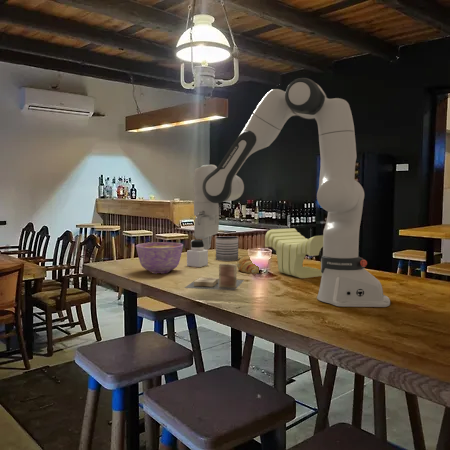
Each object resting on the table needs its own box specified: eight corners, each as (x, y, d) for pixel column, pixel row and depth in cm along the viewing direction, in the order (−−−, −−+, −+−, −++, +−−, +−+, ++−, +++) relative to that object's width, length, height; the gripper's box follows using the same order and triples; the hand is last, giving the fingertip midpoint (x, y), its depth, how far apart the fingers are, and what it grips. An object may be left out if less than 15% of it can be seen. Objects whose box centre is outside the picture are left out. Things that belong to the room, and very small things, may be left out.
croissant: (262, 283, 192) (271, 266, 192) (242, 273, 189) (251, 255, 189) (247, 273, 212) (255, 257, 212) (228, 263, 210) (237, 248, 210)
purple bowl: (129, 270, 202) (129, 243, 201) (172, 266, 212) (172, 241, 211) (145, 278, 185) (145, 249, 184) (191, 273, 195) (191, 246, 194)
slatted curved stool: (264, 270, 202) (265, 229, 201) (293, 267, 210) (294, 228, 209) (309, 282, 176) (310, 236, 175) (340, 278, 184) (341, 234, 182)
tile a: (218, 278, 172) (212, 282, 164) (218, 282, 172) (212, 287, 165) (200, 277, 174) (193, 281, 166) (200, 281, 174) (193, 286, 166)
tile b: (236, 286, 165) (236, 264, 165) (235, 287, 164) (235, 265, 163) (220, 285, 167) (220, 263, 166) (218, 286, 165) (218, 264, 164)
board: (244, 282, 177) (244, 280, 177) (234, 292, 160) (234, 290, 160) (198, 279, 181) (198, 277, 181) (184, 289, 164) (184, 287, 164)
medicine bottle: (208, 265, 216) (208, 239, 215) (199, 267, 210) (199, 240, 209) (195, 263, 219) (195, 238, 218) (186, 265, 213) (186, 239, 212)
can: (212, 260, 230) (212, 236, 229) (219, 257, 241) (219, 233, 240) (234, 261, 227) (234, 236, 226) (241, 258, 238) (241, 234, 237)
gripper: (207, 211, 156) (208, 252, 157) (221, 209, 176) (222, 245, 177) (189, 211, 157) (190, 252, 158) (205, 209, 177) (206, 245, 178)
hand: (207, 248), depth 168 cm, fingers closed
